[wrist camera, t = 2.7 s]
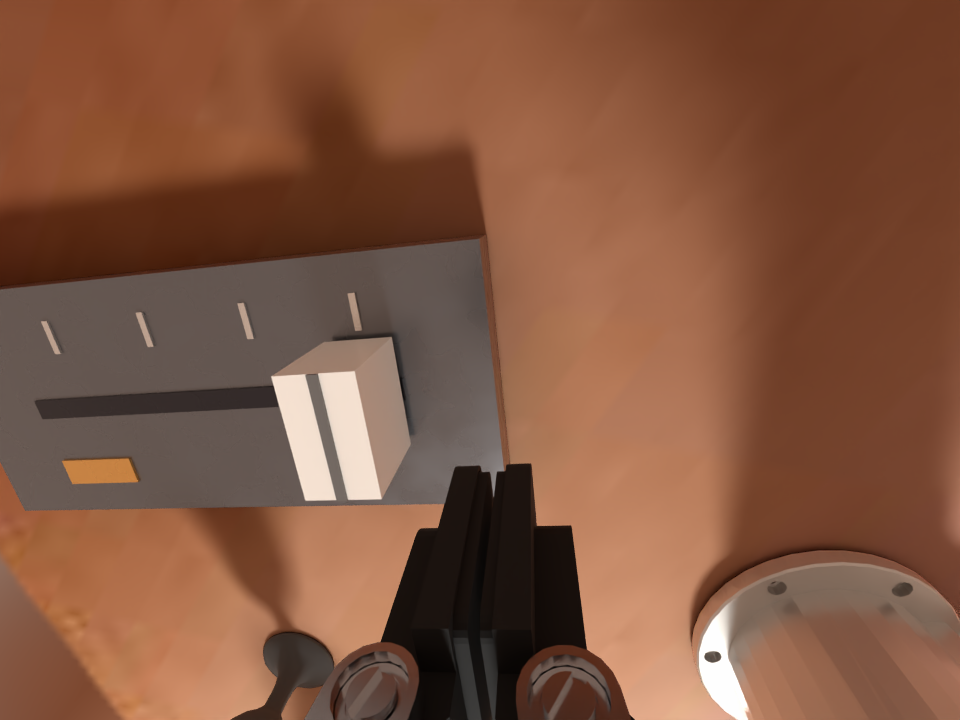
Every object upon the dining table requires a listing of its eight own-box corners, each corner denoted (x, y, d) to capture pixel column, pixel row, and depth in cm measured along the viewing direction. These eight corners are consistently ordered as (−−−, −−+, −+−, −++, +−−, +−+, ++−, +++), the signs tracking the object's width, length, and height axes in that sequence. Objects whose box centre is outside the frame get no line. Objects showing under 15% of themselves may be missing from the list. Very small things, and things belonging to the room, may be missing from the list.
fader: (391, 336, 19) (353, 372, 15) (410, 444, 20) (380, 500, 16) (323, 342, 19) (269, 377, 15) (347, 446, 21) (303, 502, 17)
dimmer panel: (486, 234, 20) (478, 239, 17) (510, 472, 23) (507, 504, 21) (-23, 288, 24) (-87, 298, 21) (69, 484, 28) (23, 511, 25)
